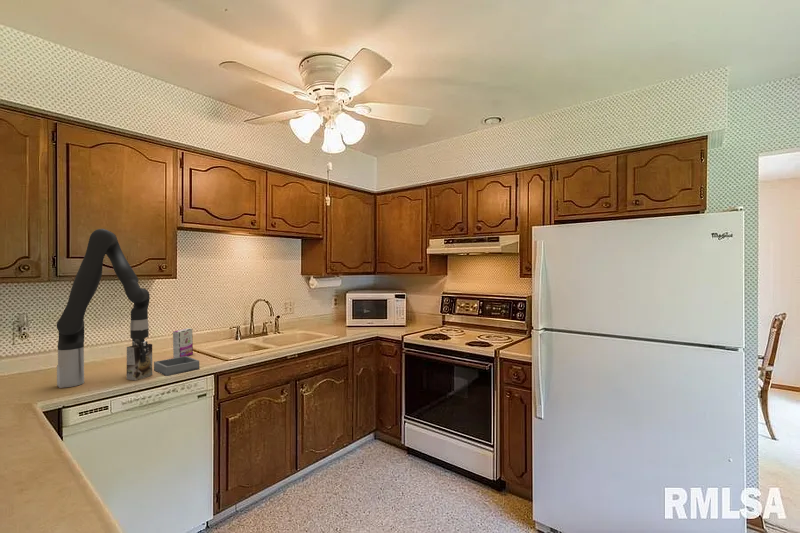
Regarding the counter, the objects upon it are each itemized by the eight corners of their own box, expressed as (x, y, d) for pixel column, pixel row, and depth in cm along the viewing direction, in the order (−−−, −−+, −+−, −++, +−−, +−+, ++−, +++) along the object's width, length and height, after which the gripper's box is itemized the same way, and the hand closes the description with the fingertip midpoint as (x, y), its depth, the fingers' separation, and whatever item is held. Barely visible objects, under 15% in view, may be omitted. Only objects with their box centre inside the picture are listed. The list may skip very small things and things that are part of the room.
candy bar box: (186, 354, 235) (185, 328, 235) (193, 354, 234) (193, 328, 234) (172, 358, 224) (172, 331, 224) (180, 359, 223) (179, 331, 223)
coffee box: (136, 380, 182) (135, 347, 182) (126, 379, 184) (125, 346, 184) (153, 375, 191) (152, 343, 191) (143, 374, 193) (143, 342, 192)
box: (166, 376, 189) (166, 367, 189) (153, 370, 200) (153, 361, 200) (199, 369, 202) (199, 360, 201) (186, 363, 212) (186, 355, 212)
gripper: (125, 328, 189) (126, 360, 189) (135, 331, 180) (136, 364, 180) (143, 325, 195) (143, 357, 195) (153, 328, 186) (153, 361, 186)
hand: (140, 360), depth 187 cm, fingers closed on coffee box, 8 cm apart
